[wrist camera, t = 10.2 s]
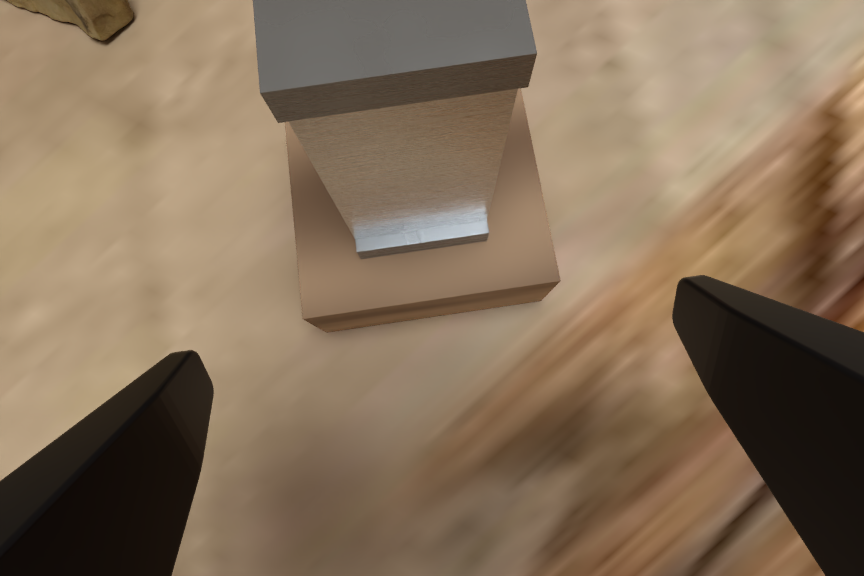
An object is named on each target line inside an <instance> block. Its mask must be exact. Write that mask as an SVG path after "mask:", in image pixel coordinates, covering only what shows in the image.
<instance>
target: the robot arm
mask: <svg viewBox="0 0 864 576" xmlns="http://www.w3.org/2000/svg"><path fill="white" fill-rule="evenodd" d="M672 318H673V324H674V327H675V329H676V331H677V333H678V335H679V337H680V339H681V341H682V343H683V345H684V347H685V349H686V351H687V353H688V355H689V357H690V359H691V361H692V363H693V365H694V367H695V369H696V371H697V373H698V375H699V377H700V379H701V381H702V383H703V385H704V387H705V389H706V391H707V393H708V394H709V396H710V398H711V399H712V401H713V403H714V404H715V406H716V407H717V409H718V410H719V412H720V413H721V415H722V417H723V418H724V420H725V421H726V423H727V424H728V426H729V427H730V429H731V430H732V432H733V434H734V435H735V437H736V438H737V440H738V441H739V443H740V444H741V446H742V447H743V449H744V451H745V452H746V454H747V455H748V457H749V458H750V460H751V461H752V463H753V464H754V466H755V468H756V469H757V471H758V472H759V474H760V475H761V477H762V478H763V480H764V481H765V483H766V485H767V486H768V488H769V489H770V491H771V492H772V494H773V495H774V497H775V498H776V500H777V502H778V503H779V505H780V506H781V508H782V509H783V511H784V512H785V514H786V515H787V517H788V519H789V520H790V522H791V523H792V525H793V526H794V528H795V529H796V531H797V532H798V534H799V535H800V537H801V539H802V540H803V542H804V543H805V545H806V546H807V548H808V549H809V551H810V552H811V554H812V556H813V557H814V559H815V560H816V562H817V563H818V565H819V566H820V568H821V569H822V571H823V573H824V574H825V576H864V332H861V331H859V330H856V329H853V328H850V327H848V326H845V325H842V324H839V323H836V322H834V321H831V320H828V319H825V318H822V317H820V316H817V315H814V314H811V313H809V312H806V311H803V310H800V309H797V308H795V307H792V306H789V305H786V304H784V303H781V302H778V301H775V300H772V299H770V298H767V297H764V296H761V295H758V294H756V293H753V292H750V291H747V290H745V289H742V288H739V287H736V286H733V285H731V284H728V283H725V282H722V281H720V280H717V279H714V278H711V277H708V276H705V275H698V276H692V277H685V278H682V279H681V280H680V281H679V283H678V285H677V290H676V296H675V302H674V308H673V314H672ZM213 394H214V390H213V384H212V381H211V379H210V377H209V375H208V373H207V371H206V369H205V367H204V365H203V363H202V360H201V358H200V356H199V355H198V353H197V352H195V351H193V350H188V351H181V352H174V353H171V354H169V355H168V356H166V357H165V358H164V359H162V360H161V361H160V362H158V363H157V364H156V365H154V366H153V367H152V368H150V369H149V370H148V371H146V372H145V373H144V374H142V375H141V376H140V377H138V378H137V379H136V380H134V381H133V382H132V383H130V384H129V385H128V386H126V387H125V388H124V389H122V390H121V391H120V392H118V393H117V394H116V395H114V396H113V397H112V398H110V399H109V400H108V401H106V402H105V403H104V404H102V405H101V406H100V407H98V408H97V409H96V410H94V411H93V412H92V413H90V414H89V415H88V416H86V417H85V418H84V419H82V420H81V421H80V422H78V423H77V424H76V425H74V426H73V427H72V428H70V429H69V430H68V431H66V432H65V433H64V434H62V435H61V436H60V437H58V438H57V439H56V440H54V441H53V442H52V443H50V444H49V445H48V446H46V447H45V448H44V449H42V450H41V451H40V452H38V453H37V454H36V455H34V456H33V457H32V458H30V459H29V460H28V461H26V462H25V463H24V464H22V465H21V466H20V467H18V468H17V469H16V470H14V471H13V472H12V473H10V474H9V475H8V476H6V477H5V478H4V479H2V480H1V481H0V576H172V572H173V569H174V565H175V562H176V558H177V554H178V551H179V547H180V544H181V540H182V537H183V533H184V530H185V526H186V522H187V519H188V515H189V512H190V508H191V505H192V501H193V498H194V494H195V491H196V487H197V483H198V480H199V476H200V472H201V468H202V463H203V457H204V451H205V445H206V439H207V433H208V426H209V420H210V414H211V408H212V401H213Z"/></svg>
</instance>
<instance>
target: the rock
mask: <svg viewBox="0 0 864 576" xmlns="http://www.w3.org/2000/svg"><path fill="white" fill-rule="evenodd" d="M7 1H8V2H10V3H12V4H13V5H15V6H17V7H23V8H25V9H27V10H29V11H33V12H40V13H42V14H45V15H48V16H49V17H50V18H51V19H54V20H58V21H62V22H70V23H74V24H77V25H78V26H79V27H80V28H81V29H82V30H83V31H85V33H86V34H87V35H88V36H90V37H92V38H95V39H98V40H102V41H104V40H106V39H108V38H109V37H110V36H111V35H113V34H114V33H115V32H117V31H118V30H119V29H121V28H122V27H124V26H126V25H127V24H128V23H129V22H130V21H131V20H132V19H133V14H134V13H133V11H132V9H131V8H130V6H129V3H128V1H127V0H7Z"/></svg>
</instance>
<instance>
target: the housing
mask: <svg viewBox="0 0 864 576" xmlns="http://www.w3.org/2000/svg"><path fill="white" fill-rule="evenodd" d="M253 8H254V21H255V34H256V47H257V60H258V73H259V86H260V94H261V95H262V97H263V99H264V100H265V102H266V104H267V105H268V107H269V109H270V110H271V112H272V114H273V115H274V117H275V118H276V120H277V122H278V123H281V122H289V124H290V126H291V127H292V129H293V131H294V133H295V134H296V136H297V138H298V140H299V141H300V143H301V145H302V147H303V148H304V150H305V152H306V154H307V156H308V157H309V159H310V161H311V163H312V164H313V166H314V168H315V170H316V171H317V173H318V175H319V177H320V178H321V180H322V182H323V184H324V185H325V187H326V189H327V191H328V193H329V194H330V196H331V198H332V200H333V201H334V203H335V205H336V207H337V208H338V210H339V212H340V214H341V215H342V217H343V219H344V221H345V222H346V224H347V226H348V228H349V230H350V231H351V233H352V235H353V237H354V238H355V242H356V251H357V254H358V255H359V257H360V259H367V258H374V257H381V256H388V255H395V254H402V253H409V252H416V251H422V250H429V249H436V248H443V247H450V246H457V245H464V244H471V243H478V242H484V241H487V240H488V236H489V228H488V223H487V219H488V214H489V210H490V206H491V202H492V197H493V193H494V189H495V185H496V180H497V176H498V172H499V168H500V163H501V159H502V155H503V150H504V146H505V142H506V138H507V133H508V129H509V125H510V121H511V116H512V112H513V108H514V104H515V99H516V95H517V91H518V88H525V87H528V86H529V82H530V78H531V74H532V71H533V67H534V63H535V59H536V55H537V51H536V46H535V41H534V37H533V32H532V28H531V23H530V18H529V14H528V9H527V4H526V0H253Z"/></svg>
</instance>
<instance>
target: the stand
mask: <svg viewBox="0 0 864 576" xmlns="http://www.w3.org/2000/svg"><path fill="white" fill-rule="evenodd" d="M285 128H286V139H287V150H288V162H289V173H290V184H291V195H292V206H293V217H294V228H295V239H296V250H297V261H298V272H299V283H300V295H301V306H302V317H303V319H304V320H305V321H307V322H309V323H311V324H313V325H314V326H316V327H318V328H320V329H322V330H323V331H325V332H333V331H339V330H346V329H353V328H360V327H366V326H373V325H380V324H387V323H394V322H400V321H407V320H414V319H421V318H427V317H434V316H441V315H448V314H454V313H461V312H468V311H475V310H481V309H488V308H495V307H502V306H508V305H515V304H522V303H529V302H535V301H541V300H542V299H543V298H544V297H545V296H546V295H547V294H548V293H549V292H550V291H551V290H552V289H553V288H554V287H555V286H556V285H557V284H558V283H559V282H560V276H559V271H558V266H557V261H556V257H555V252H554V247H553V242H552V237H551V232H550V228H549V223H548V218H547V213H546V208H545V203H544V198H543V194H542V189H541V184H540V179H539V174H538V169H537V165H536V160H535V155H534V150H533V145H532V140H531V136H530V131H529V126H528V121H527V116H526V111H525V107H524V102H523V97H522V92H521V88H518V91H517V95H516V99H515V104H514V108H513V112H512V116H511V121H510V125H509V129H508V133H507V138H506V142H505V146H504V150H503V155H502V159H501V163H500V168H499V172H498V176H497V180H496V185H495V189H494V193H493V197H492V202H491V206H490V210H489V214H488V219H487V223H488V228H489V236H488V240H487V241H484V242H478V243H471V244H464V245H457V246H450V247H443V248H436V249H429V250H422V251H416V252H409V253H402V254H395V255H388V256H381V257H374V258H367V259H360V257H359V255H358V254H357V251H356V242H355V238H354V237H353V235H352V233H351V231H350V230H349V228H348V226H347V224H346V222H345V221H344V219H343V217H342V215H341V214H340V212H339V210H338V208H337V207H336V205H335V203H334V201H333V200H332V198H331V196H330V194H329V193H328V191H327V189H326V187H325V185H324V184H323V182H322V180H321V178H320V177H319V175H318V173H317V171H316V170H315V168H314V166H313V164H312V163H311V161H310V159H309V157H308V156H307V154H306V152H305V150H304V148H303V147H302V145H301V143H300V141H299V140H298V138H297V136H296V134H295V133H294V131H293V129H292V127H291V126H290V124H289V122H285Z"/></svg>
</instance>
